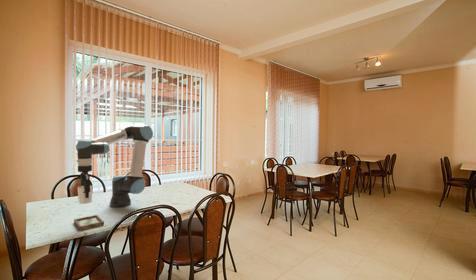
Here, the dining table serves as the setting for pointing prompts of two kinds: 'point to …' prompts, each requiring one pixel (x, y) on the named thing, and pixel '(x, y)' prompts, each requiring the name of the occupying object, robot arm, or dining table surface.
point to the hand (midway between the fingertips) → (85, 201)
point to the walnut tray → (88, 222)
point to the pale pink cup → (81, 194)
